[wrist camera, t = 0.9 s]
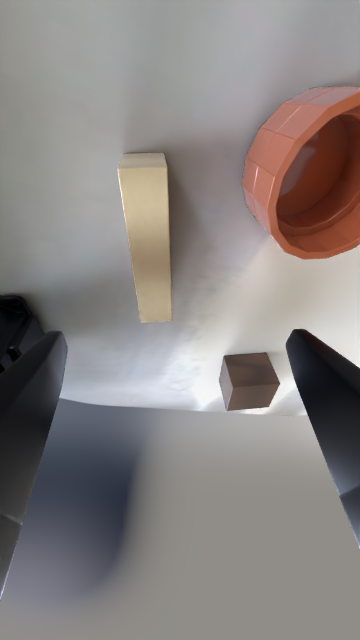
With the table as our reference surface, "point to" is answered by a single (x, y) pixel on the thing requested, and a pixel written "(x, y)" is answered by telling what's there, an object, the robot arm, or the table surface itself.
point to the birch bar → (148, 231)
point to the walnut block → (247, 381)
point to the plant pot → (308, 173)
